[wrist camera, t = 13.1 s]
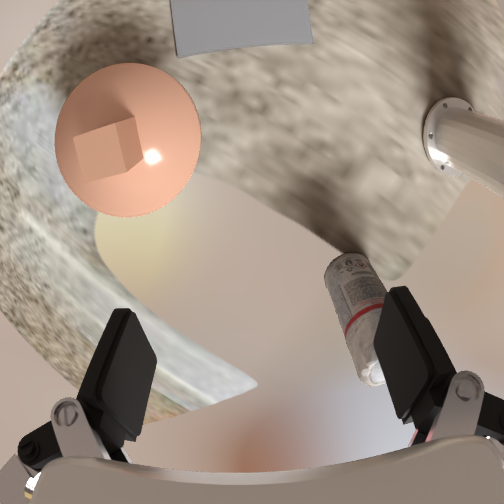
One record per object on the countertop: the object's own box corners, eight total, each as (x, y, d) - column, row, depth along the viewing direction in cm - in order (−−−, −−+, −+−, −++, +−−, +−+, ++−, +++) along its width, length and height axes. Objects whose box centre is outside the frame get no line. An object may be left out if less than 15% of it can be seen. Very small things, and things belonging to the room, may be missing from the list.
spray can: (311, 281, 46) (345, 387, 29) (342, 241, 42) (397, 341, 25) (349, 298, 48) (389, 394, 31) (378, 262, 45) (435, 355, 28)
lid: (188, 45, 20) (175, 34, 15) (214, 199, 28) (209, 225, 23) (47, 94, 20) (15, 100, 15) (82, 224, 28) (59, 249, 23)
